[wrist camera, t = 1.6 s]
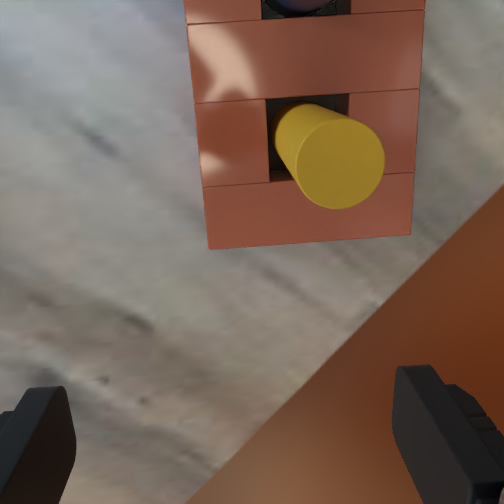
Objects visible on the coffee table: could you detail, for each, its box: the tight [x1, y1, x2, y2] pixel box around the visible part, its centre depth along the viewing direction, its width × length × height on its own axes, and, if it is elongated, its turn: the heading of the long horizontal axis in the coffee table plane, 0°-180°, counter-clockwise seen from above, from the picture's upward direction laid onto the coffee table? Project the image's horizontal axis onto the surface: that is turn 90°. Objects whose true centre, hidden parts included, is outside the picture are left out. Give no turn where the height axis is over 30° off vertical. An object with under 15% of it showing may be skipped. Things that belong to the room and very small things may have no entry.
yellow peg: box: [270, 101, 385, 209], centre depth 28 cm, size 4×4×13 cm
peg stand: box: [184, 0, 425, 250], centre depth 31 cm, size 24×14×4 cm, turn 3°
